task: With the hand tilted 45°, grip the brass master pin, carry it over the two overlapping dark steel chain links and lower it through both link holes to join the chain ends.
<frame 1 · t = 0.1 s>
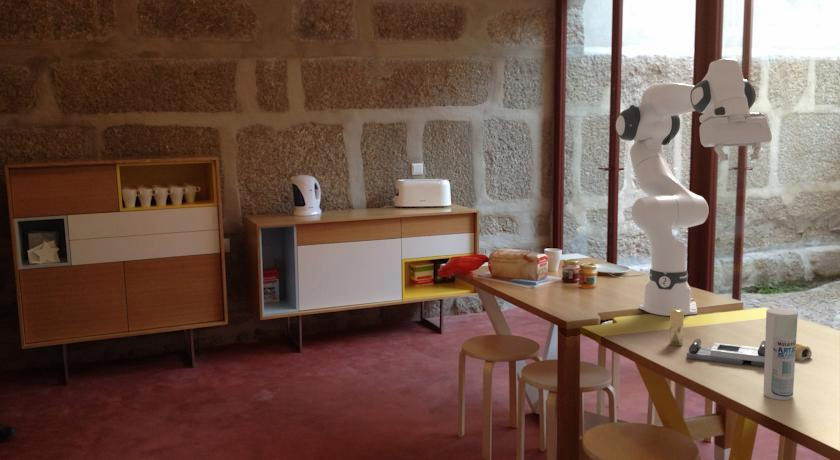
hand: (739, 160, 218), 52 cm above the table, tool tilted 20°, fingers open, 8 cm apart
chain ends: (728, 359, 209), on the table
spray can: (778, 396, 182), on the table
pastry: (792, 357, 211), on the table
master pin: (676, 344, 223), on the table
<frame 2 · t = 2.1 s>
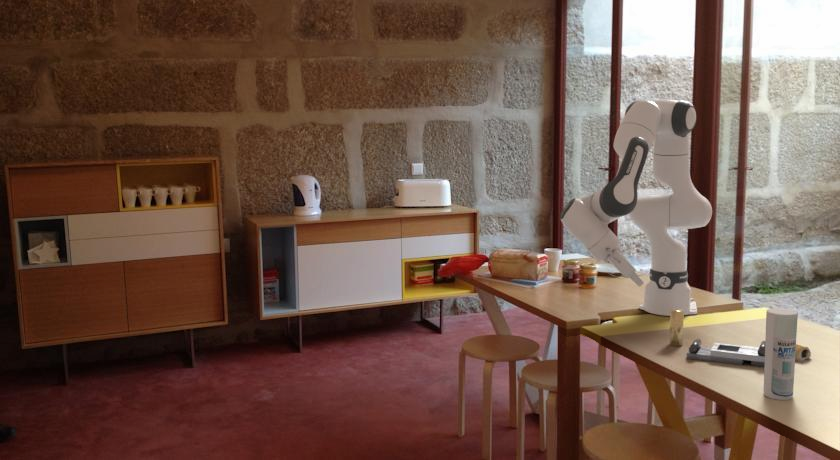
hand: (639, 282, 222), 18 cm above the table, tool tilted 45°, fingers open, 8 cm apart
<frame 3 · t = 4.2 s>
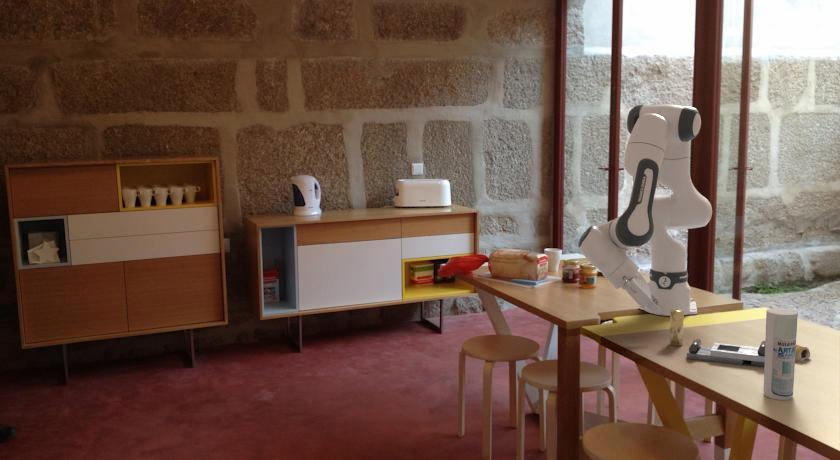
hand: (658, 308, 223), 10 cm above the table, tool tilted 45°, fingers open, 8 cm apart
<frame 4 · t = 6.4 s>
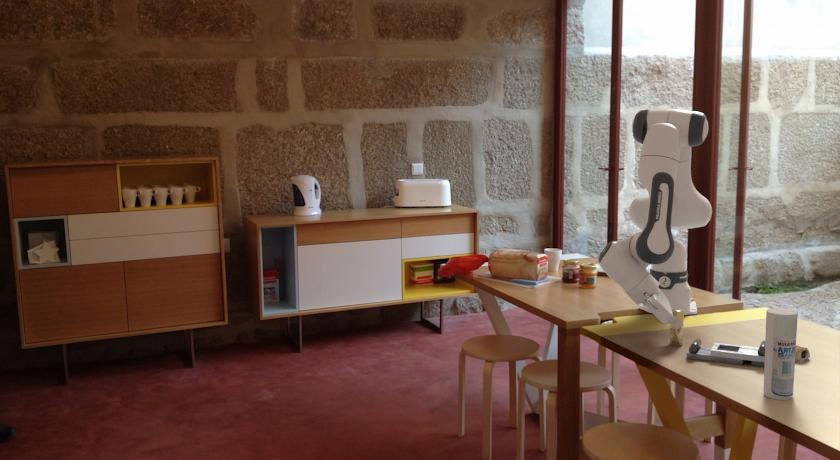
hand: (679, 324, 222), 6 cm above the table, tool tilted 45°, fingers closed on master pin, 4 cm apart
master pin: (676, 344, 223), on the table, touching gripper
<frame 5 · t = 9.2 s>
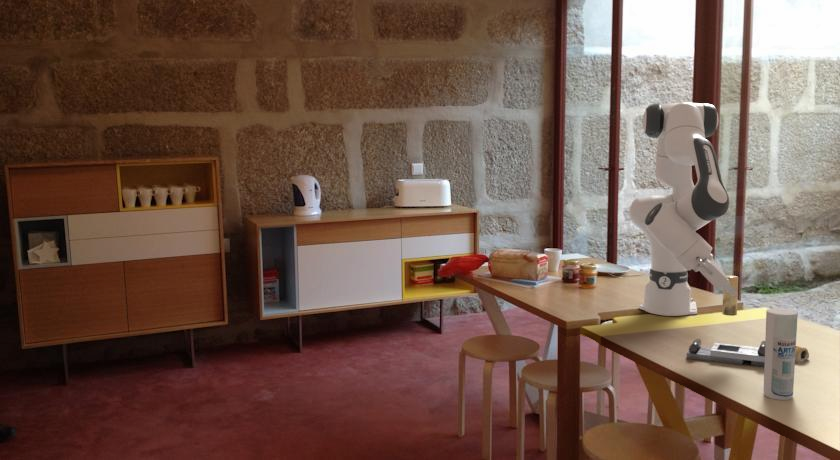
hand: (733, 292, 207), 18 cm above the table, tool tilted 45°, fingers closed on master pin, 4 cm apart
master pin: (729, 313, 208), point 12 cm above the table, touching gripper
when the fingers open (7 cm above the table, at t = 12.0 s): master pin drops 1 cm, resting in chain ends.
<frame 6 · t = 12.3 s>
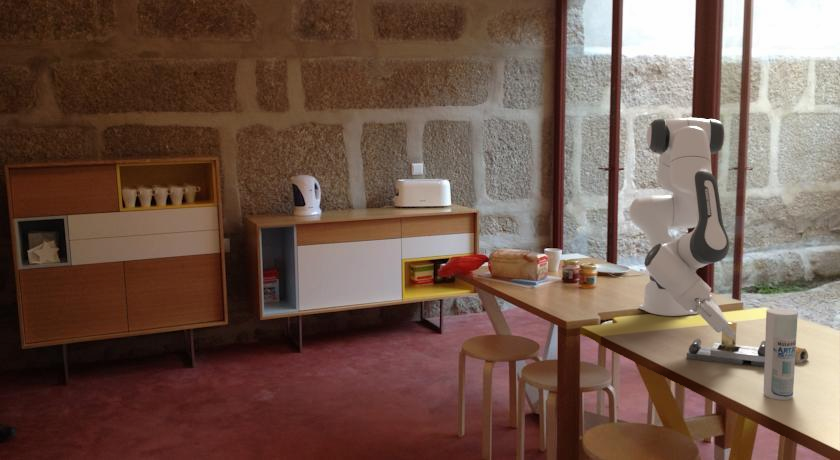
hand: (731, 332, 208), 7 cm above the table, tool tilted 45°, fingers open, 6 cm apart
master pin: (727, 358, 209), resting in chain ends
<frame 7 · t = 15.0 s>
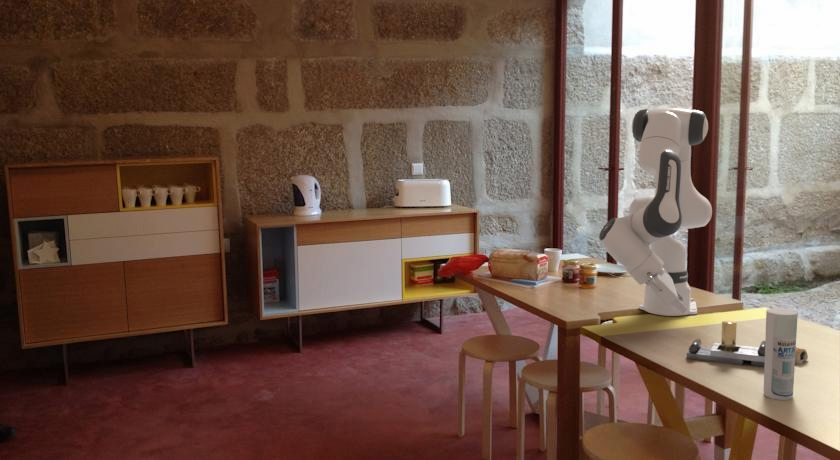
hand: (683, 305, 212), 14 cm above the table, tool tilted 45°, fingers open, 8 cm apart
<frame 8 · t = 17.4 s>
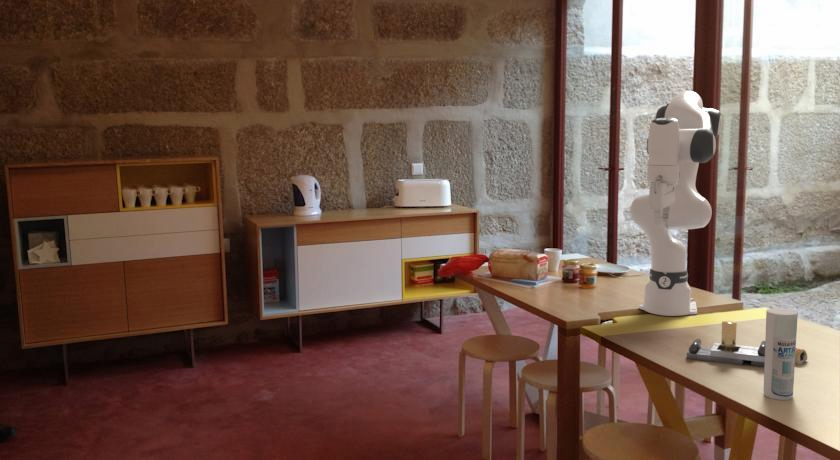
hand: (662, 222, 227), 34 cm above the table, tool pointing down, fingers open, 8 cm apart
at the end: master pin 0.1 cm off-centre on the chain ends, point 0.0 cm above the chain ends's base; master pin tilted 0°; the gripper is holding nothing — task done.
